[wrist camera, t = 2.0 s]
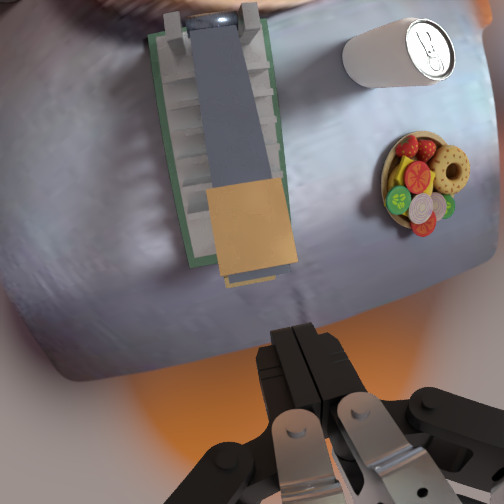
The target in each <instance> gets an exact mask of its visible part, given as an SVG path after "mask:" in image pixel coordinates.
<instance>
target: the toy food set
mask: <svg viewBox="0 0 504 504" xmlns="http://www.w3.org/2000/svg"><path fill="white" fill-rule="evenodd" d="M469 174H470V164H469V160H468V158H467V156H466V154H465V153H464V152H463V151H462V150H461V149H460V148H458V147H456V146H453V145H447V143H446V142H445V141H444V140H443V139H442V138H441V137H440V136H438V135H437V134H435V133H432V132H429V131H416V132H412V133H410V134H408V135H406V136H404V137H403V138H401V139H400V140H399V141H398V142H397V143H396V144H395V145H394V146H393V148H392V149H391V151H390V152H389V154H388V156H387V158H386V160H385V163H384V166H383V170H382V176H381V193H382V198H383V202H384V206H385V207H386V209H387V211H388V213H389V214H390V216H391V217H392V218H393V219H394V220H395V221H396V222H397V223H398V224H400V225H402V226H404V227H406V228H411V229H412V231H413V232H414V233H415V234H416V235H418V236H420V237H425V236H428V235H429V234H431V233H432V232H433V230H434V228H435V226H436V222H437V221H439V220H441V219H447V218H449V217H451V216H452V214H453V213H454V210H455V201H454V199H453V197H454V194H455V193H457V192H459V191H460V190H461V189H462V188H463V187H464V186H465V185H466V183H467V181H468V178H469Z"/></svg>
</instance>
